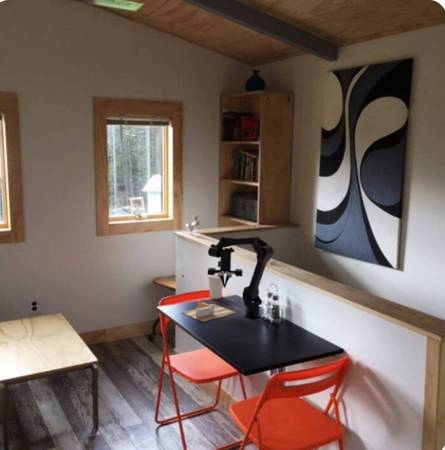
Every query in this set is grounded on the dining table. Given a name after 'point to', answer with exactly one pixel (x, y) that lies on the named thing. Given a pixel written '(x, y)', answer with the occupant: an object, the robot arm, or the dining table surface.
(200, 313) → the fence fixed
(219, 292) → the foam cup
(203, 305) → the gate panel
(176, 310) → the dining table surface
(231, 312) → the card
